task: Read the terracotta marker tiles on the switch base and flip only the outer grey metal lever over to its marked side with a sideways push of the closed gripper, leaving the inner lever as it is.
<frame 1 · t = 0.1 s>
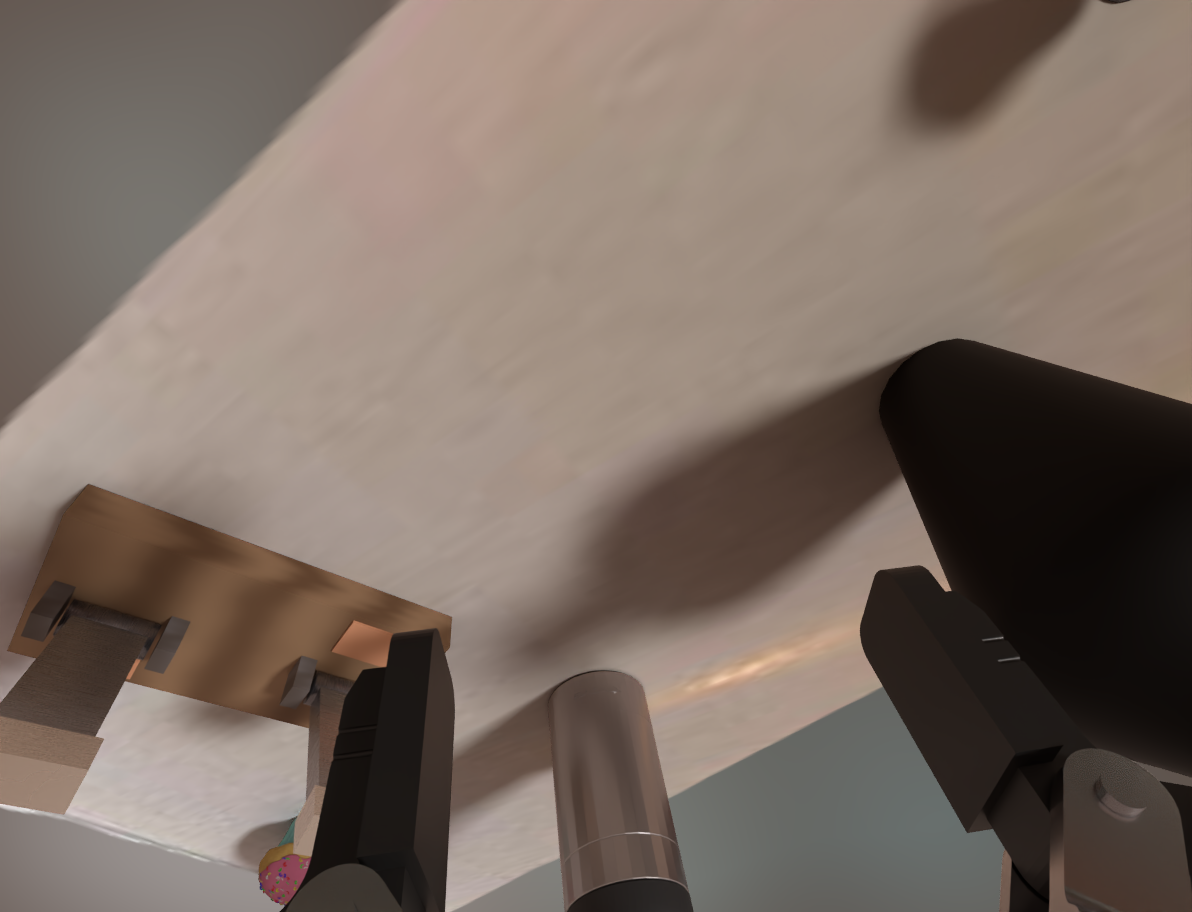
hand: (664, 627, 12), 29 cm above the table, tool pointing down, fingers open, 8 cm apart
switch base: (254, 617, 50), on the table
vase: (935, 391, 46), on the table
outer lever: (72, 685, 37), point 11 cm above the table, hinge at 25.0°
cupcake: (316, 822, 68), on the table
inner lever: (346, 752, 43), point 11 cm above the table, hinge at 25.0°
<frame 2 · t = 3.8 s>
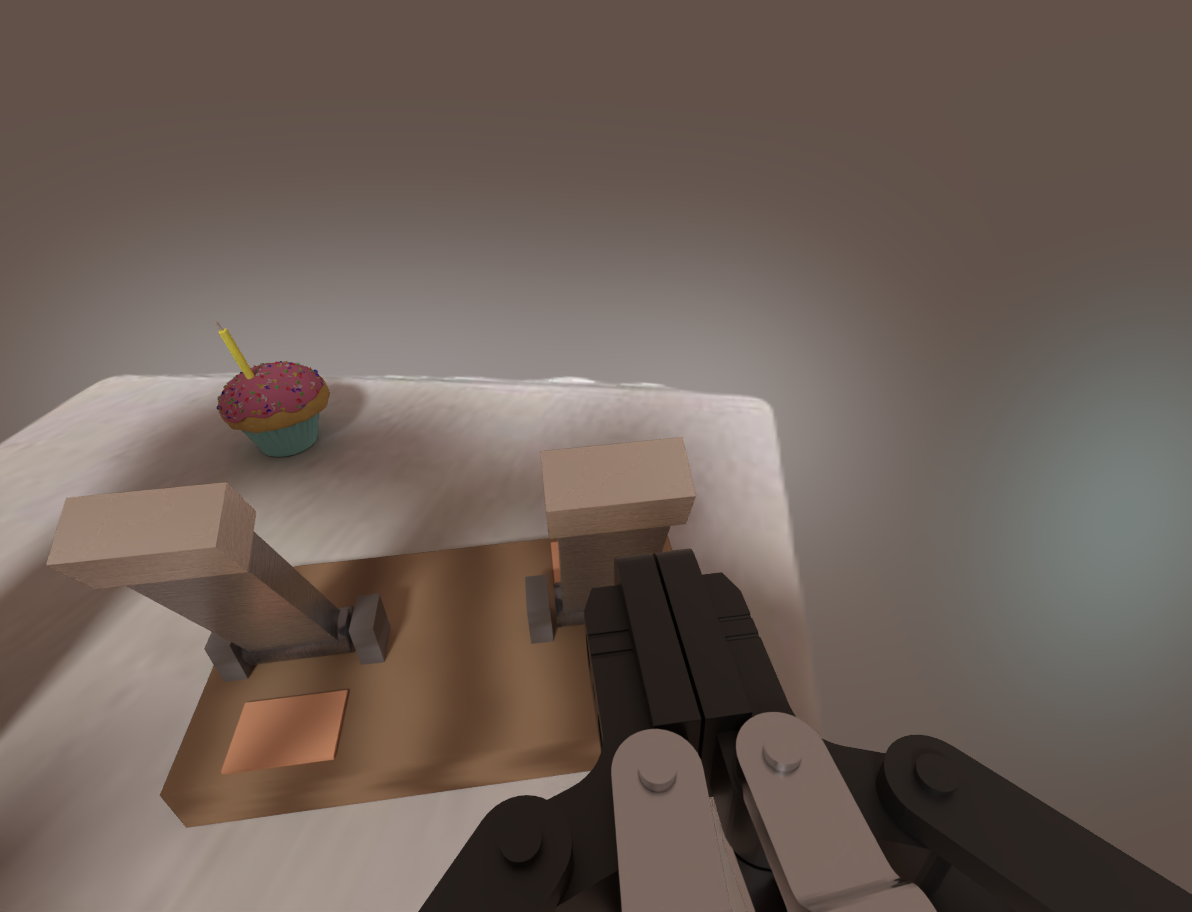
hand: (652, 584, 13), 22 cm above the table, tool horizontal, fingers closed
switch base: (467, 669, 38), on the table
outer lever: (607, 554, 30), point 11 cm above the table, hinge at 25.0°
cupcake: (290, 443, 58), on the table
inner lever: (245, 595, 29), point 11 cm above the table, hinge at 25.0°
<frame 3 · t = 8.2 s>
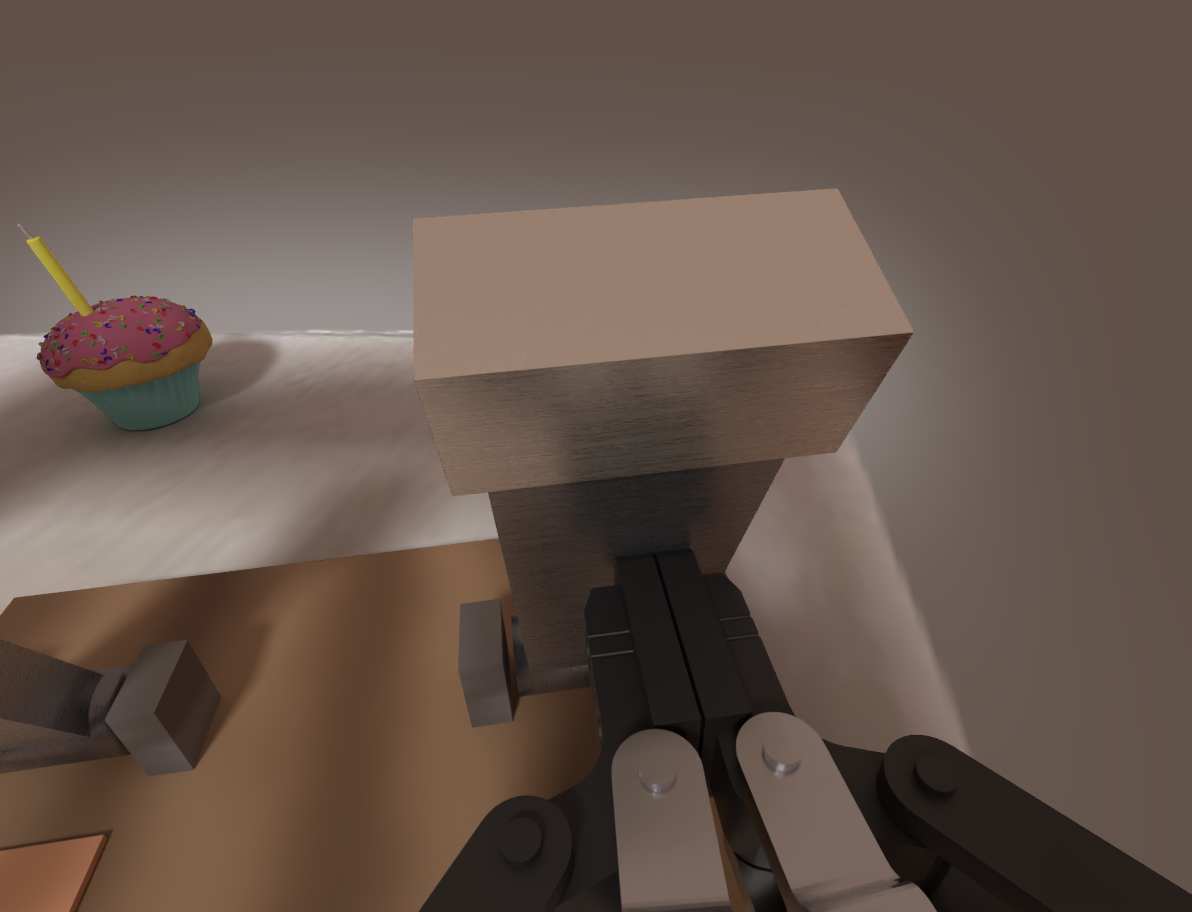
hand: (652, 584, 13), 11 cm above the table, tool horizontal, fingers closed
switch base: (366, 765, 22), on the table
outer lever: (613, 554, 14), point 11 cm above the table, hinge at 23.7°, touching gripper
cupcake: (161, 412, 42), on the table
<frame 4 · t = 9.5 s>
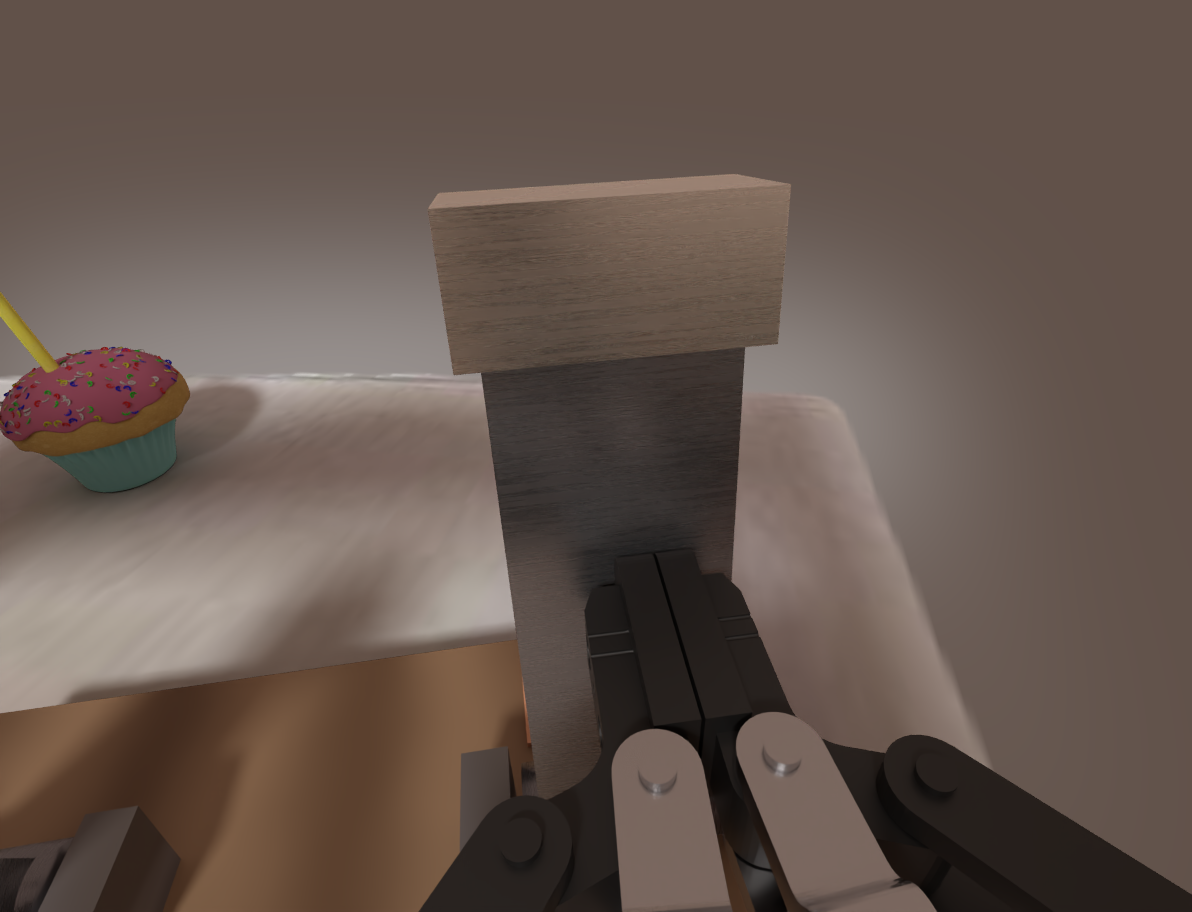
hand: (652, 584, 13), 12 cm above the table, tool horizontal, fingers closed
outer lever: (617, 590, 14), point 11 cm above the table, hinge at -7.0°, touching gripper
cupcake: (134, 470, 39), on the table
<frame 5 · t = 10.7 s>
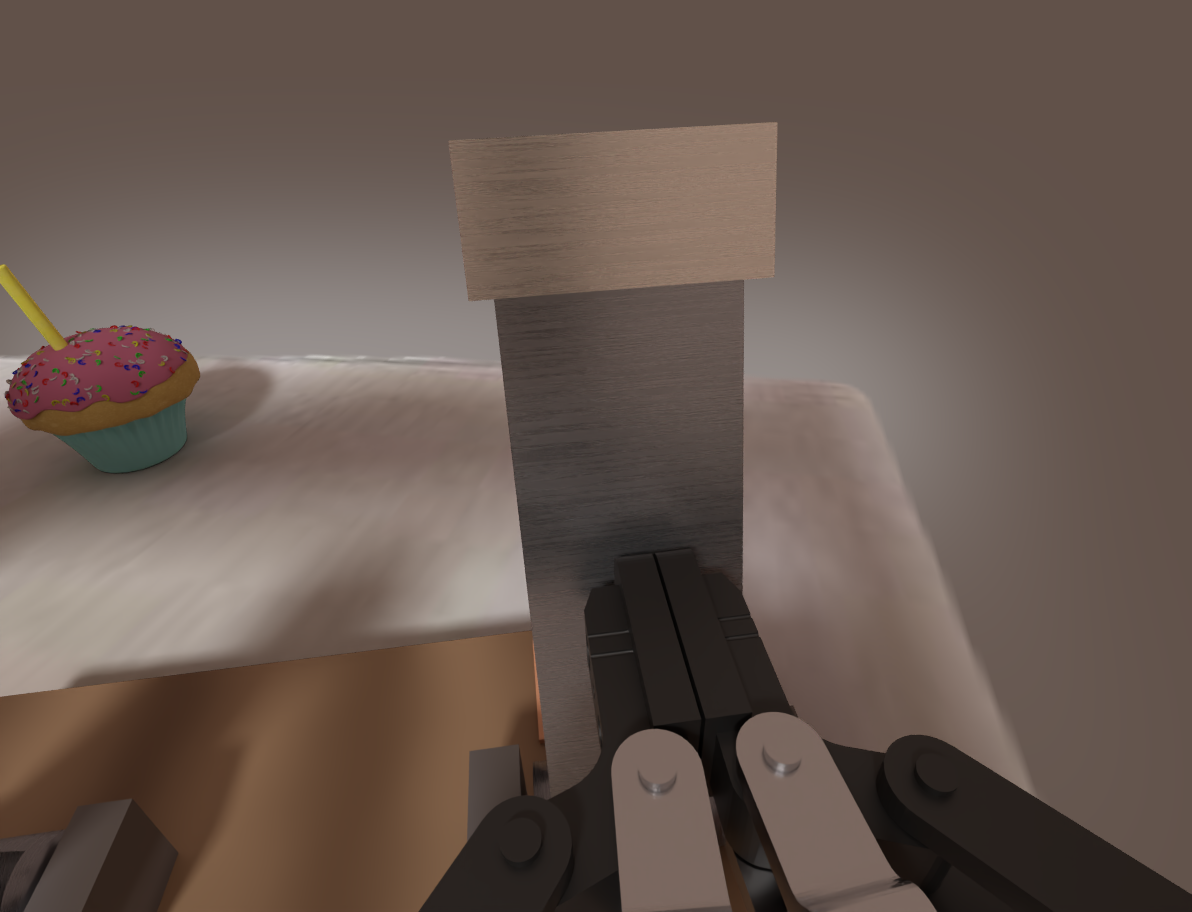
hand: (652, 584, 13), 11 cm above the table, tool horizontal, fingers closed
outer lever: (629, 553, 14), point 11 cm above the table, hinge at -16.5°
cupcake: (144, 451, 38), on the table
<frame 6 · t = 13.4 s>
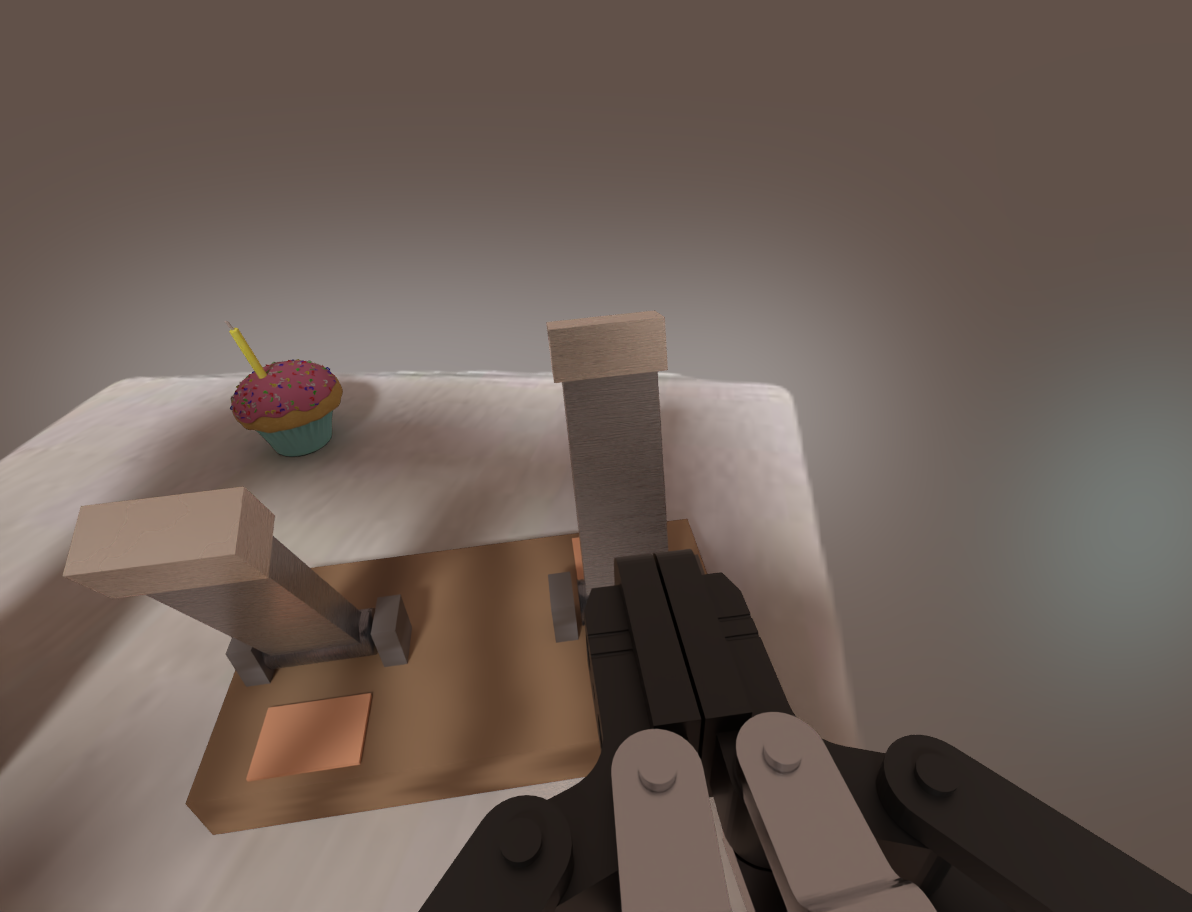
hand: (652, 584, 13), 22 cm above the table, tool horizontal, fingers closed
switch base: (491, 668, 37), on the table
outer lever: (617, 479, 33), point 11 cm above the table, hinge at -16.5°
cupcake: (305, 442, 57), on the table
inner lever: (266, 600, 28), point 11 cm above the table, hinge at 25.0°
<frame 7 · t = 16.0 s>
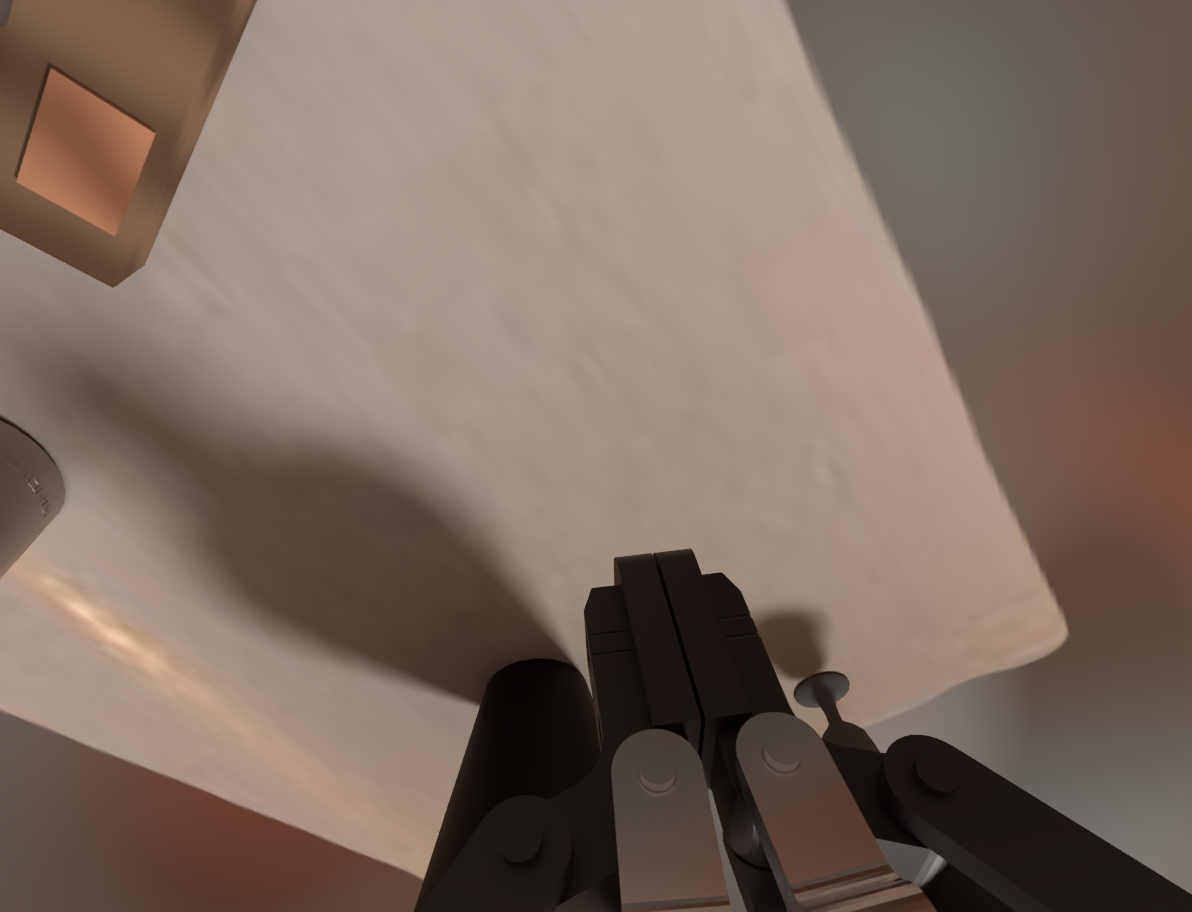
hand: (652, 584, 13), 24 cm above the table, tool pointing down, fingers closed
sundae: (820, 687, 58), on the table
vase: (536, 688, 54), on the table
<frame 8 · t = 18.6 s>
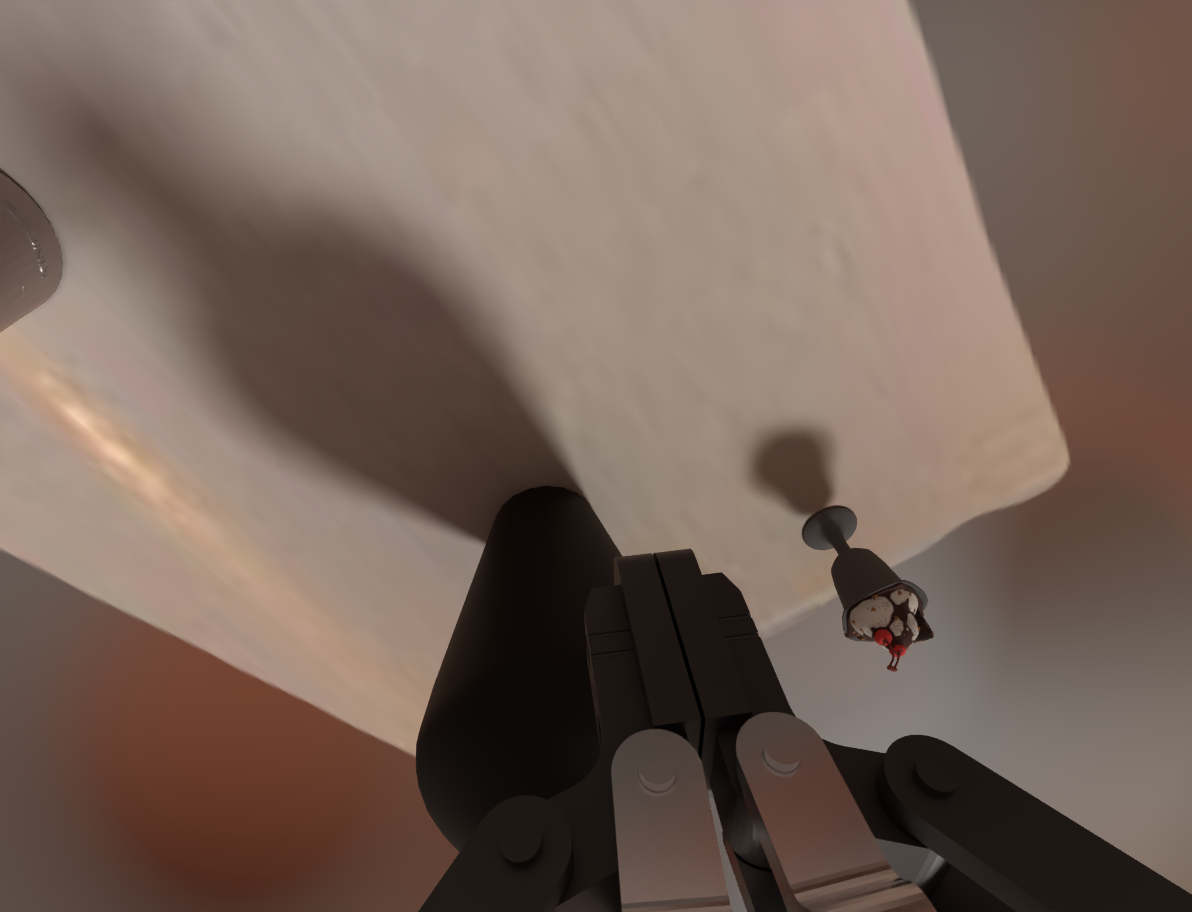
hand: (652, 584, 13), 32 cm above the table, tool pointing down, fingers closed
sundae: (827, 527, 58), on the table
vase: (545, 525, 54), on the table
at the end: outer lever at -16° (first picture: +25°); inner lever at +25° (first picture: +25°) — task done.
